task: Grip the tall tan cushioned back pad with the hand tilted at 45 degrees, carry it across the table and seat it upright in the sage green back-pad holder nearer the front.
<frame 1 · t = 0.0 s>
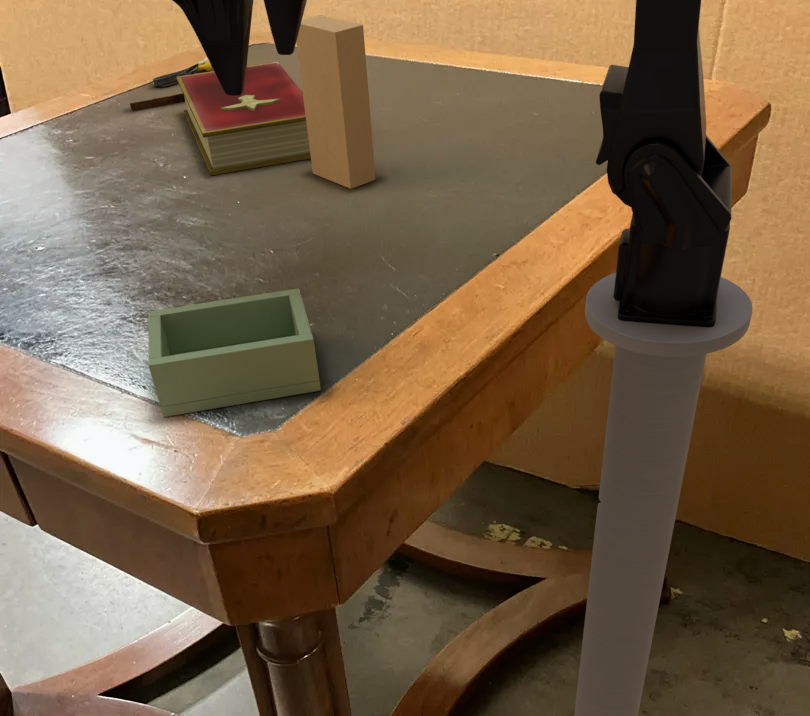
hand: (261, 73, 60), 15 cm above the table, tool pointing down, fingers open, 9 cm apart
dark brown stick: (194, 102, 107), on the table
hardcover book: (252, 135, 96), on the table
pad holder: (238, 375, 60), on the table
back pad: (343, 176, 85), on the table
composite cable: (192, 80, 114), on the table
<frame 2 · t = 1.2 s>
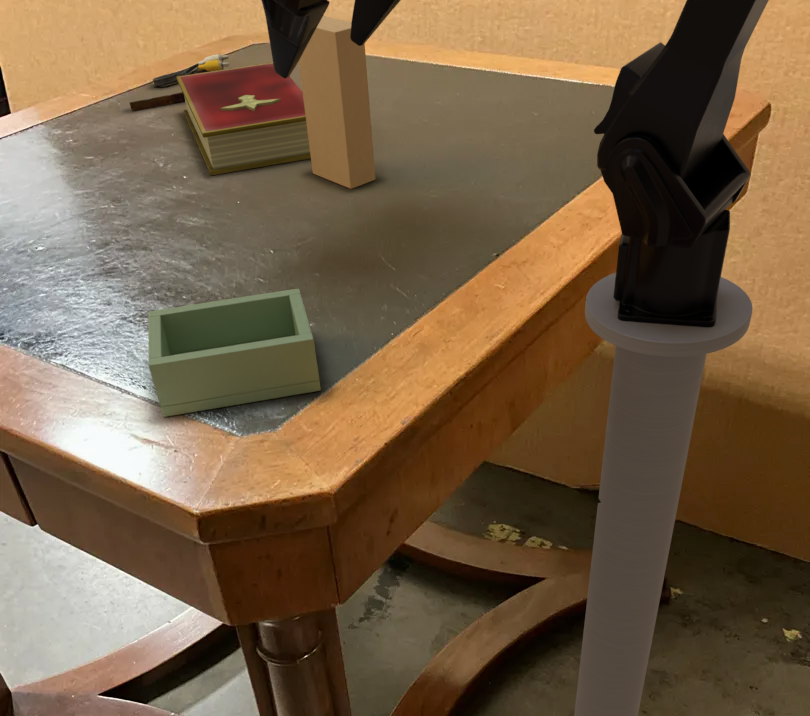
hand: (320, 58, 67), 13 cm above the table, tool tilted 25°, fingers open, 9 cm apart
nothing on the table moved.
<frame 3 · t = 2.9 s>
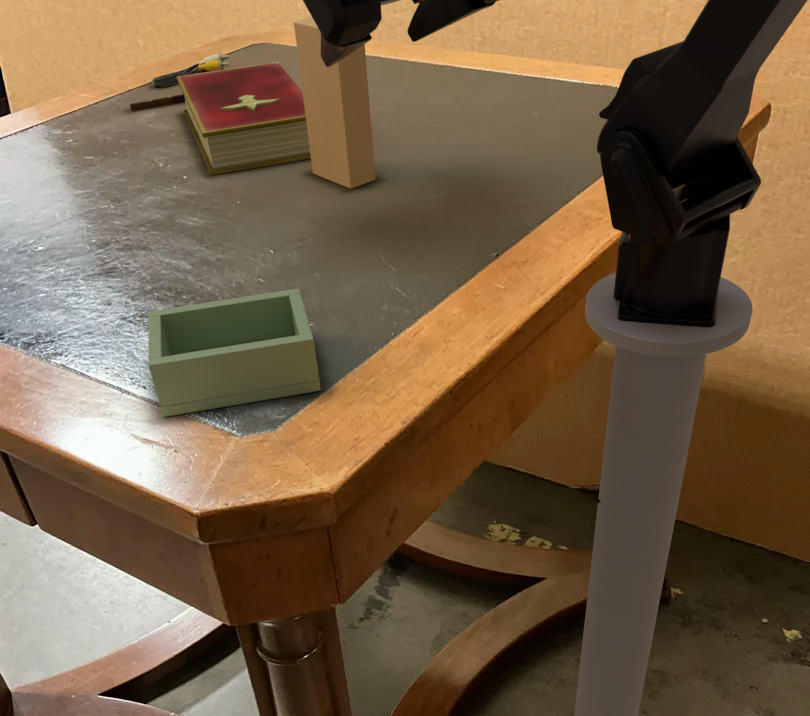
hand: (369, 48, 74), 12 cm above the table, tool tilted 45°, fingers open, 9 cm apart
nothing on the table moved.
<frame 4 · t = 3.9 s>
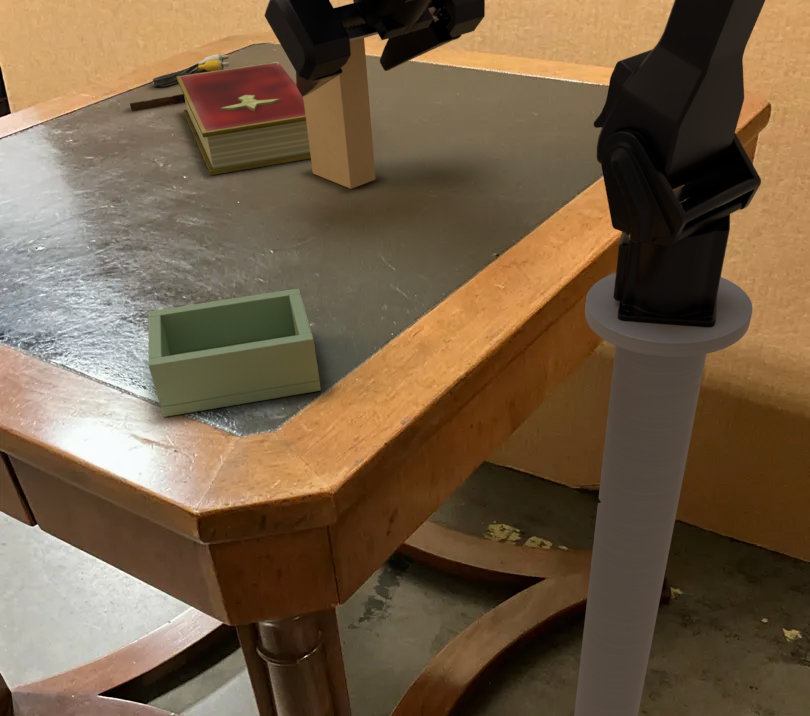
hand: (343, 78, 78), 9 cm above the table, tool tilted 45°, fingers open, 9 cm apart
nothing on the table moved.
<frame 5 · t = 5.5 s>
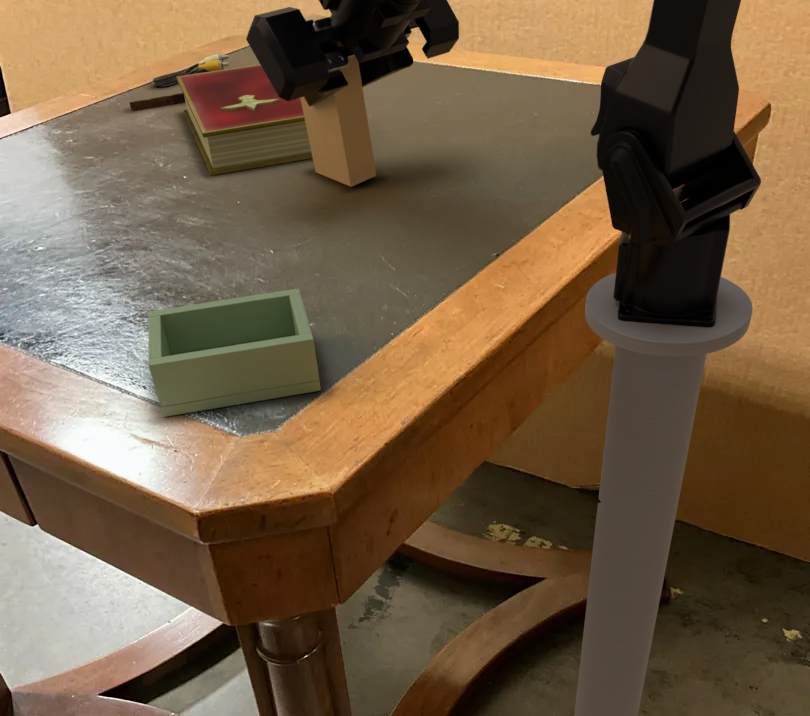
hand: (323, 96, 82), 7 cm above the table, tool tilted 45°, fingers closed on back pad, 3 cm apart
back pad: (345, 174, 85), on the table, touching gripper
everything else where it was.
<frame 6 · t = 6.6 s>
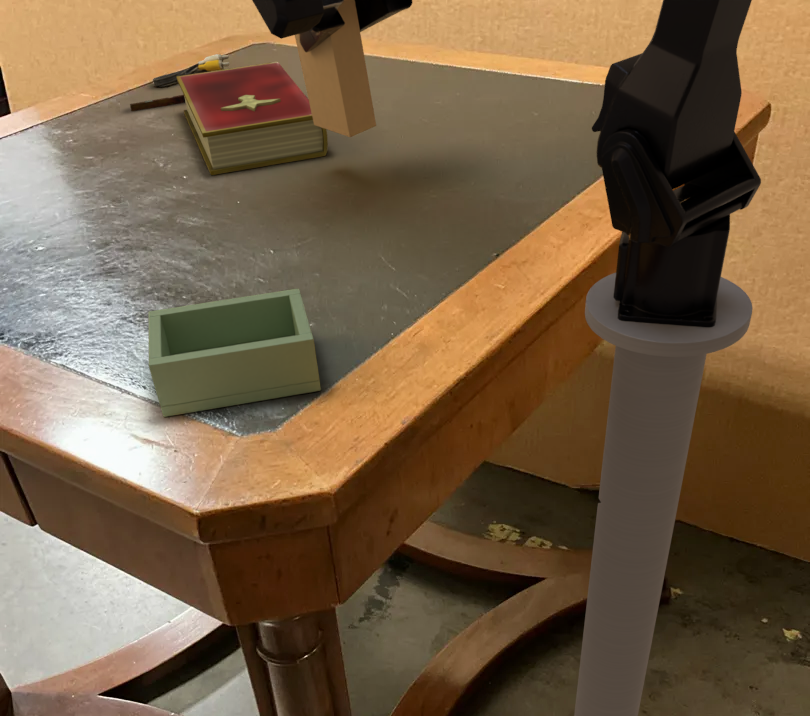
hand: (320, 42, 79), 11 cm above the table, tool tilted 45°, fingers closed on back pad, 3 cm apart
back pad: (344, 125, 82), point 5 cm above the table, tilted 6°, touching gripper
everything else where it was.
when the fingers open (8 cm above the table, at t = 14.0 s): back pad stays where it is, resting on pad holder.
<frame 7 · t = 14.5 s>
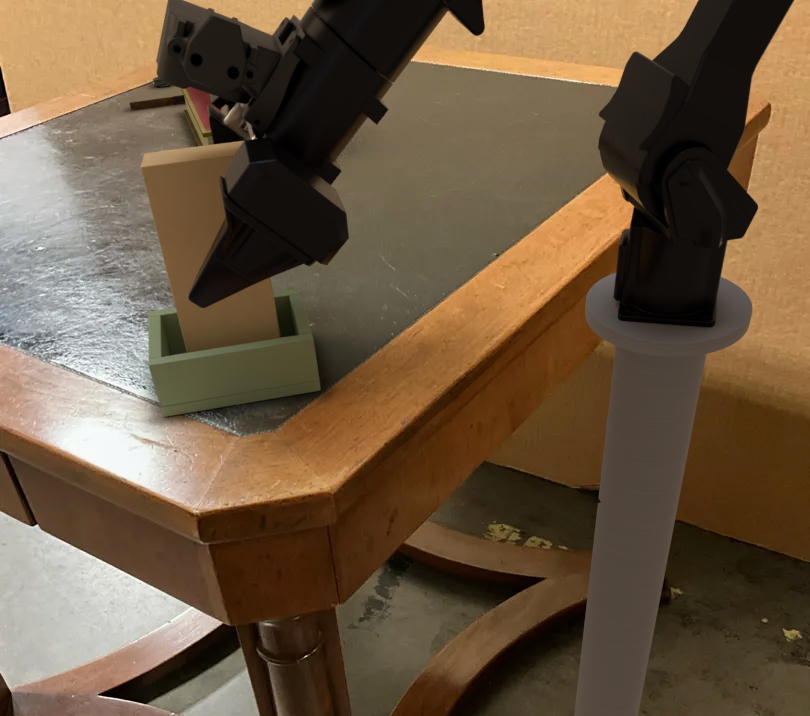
hand: (191, 269, 54), 8 cm above the table, tool tilted 45°, fingers open, 9 cm apart
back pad: (238, 358, 60), point 1 cm above the table, touching pad holder
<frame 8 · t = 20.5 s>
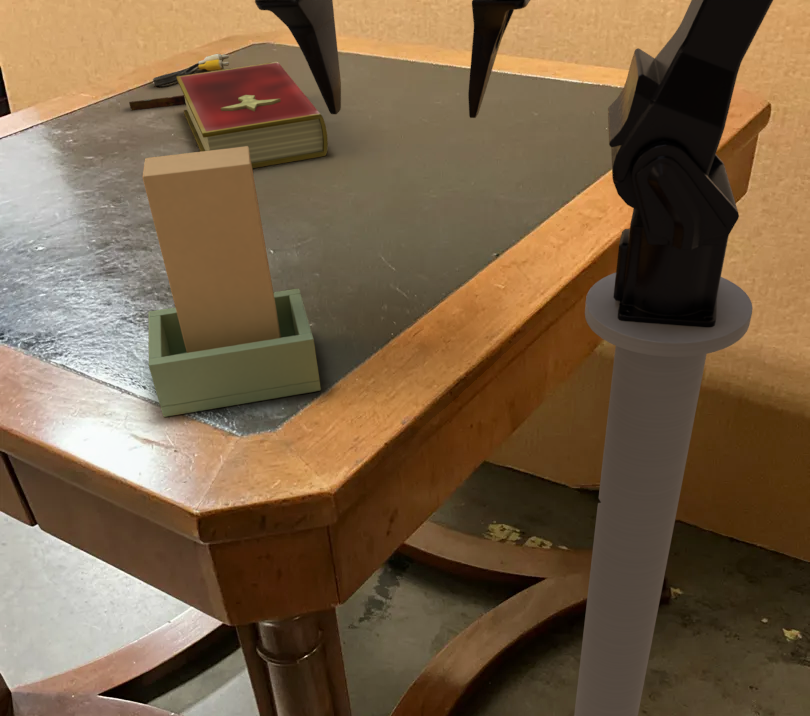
hand: (403, 114, 57), 13 cm above the table, tool pointing down, fingers open, 9 cm apart
at the end: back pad 0.7 cm off-centre in the pad holder, point 0.8 cm above the pad holder's base; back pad tilted 0°; the gripper is holding nothing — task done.
